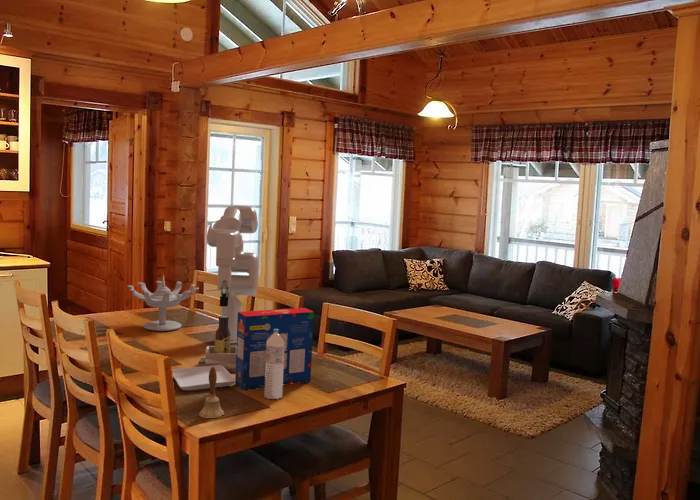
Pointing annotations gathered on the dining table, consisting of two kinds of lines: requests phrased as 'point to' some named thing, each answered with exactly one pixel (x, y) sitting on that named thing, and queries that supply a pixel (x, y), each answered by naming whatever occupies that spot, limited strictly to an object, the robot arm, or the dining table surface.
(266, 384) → the water bottle
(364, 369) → the dining table surface
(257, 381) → the blue cardboard box
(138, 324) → the dining table surface
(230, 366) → the bottle caddy
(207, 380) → the salad plate
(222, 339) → the sauce bottle
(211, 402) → the hand bell
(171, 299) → the candelabra
